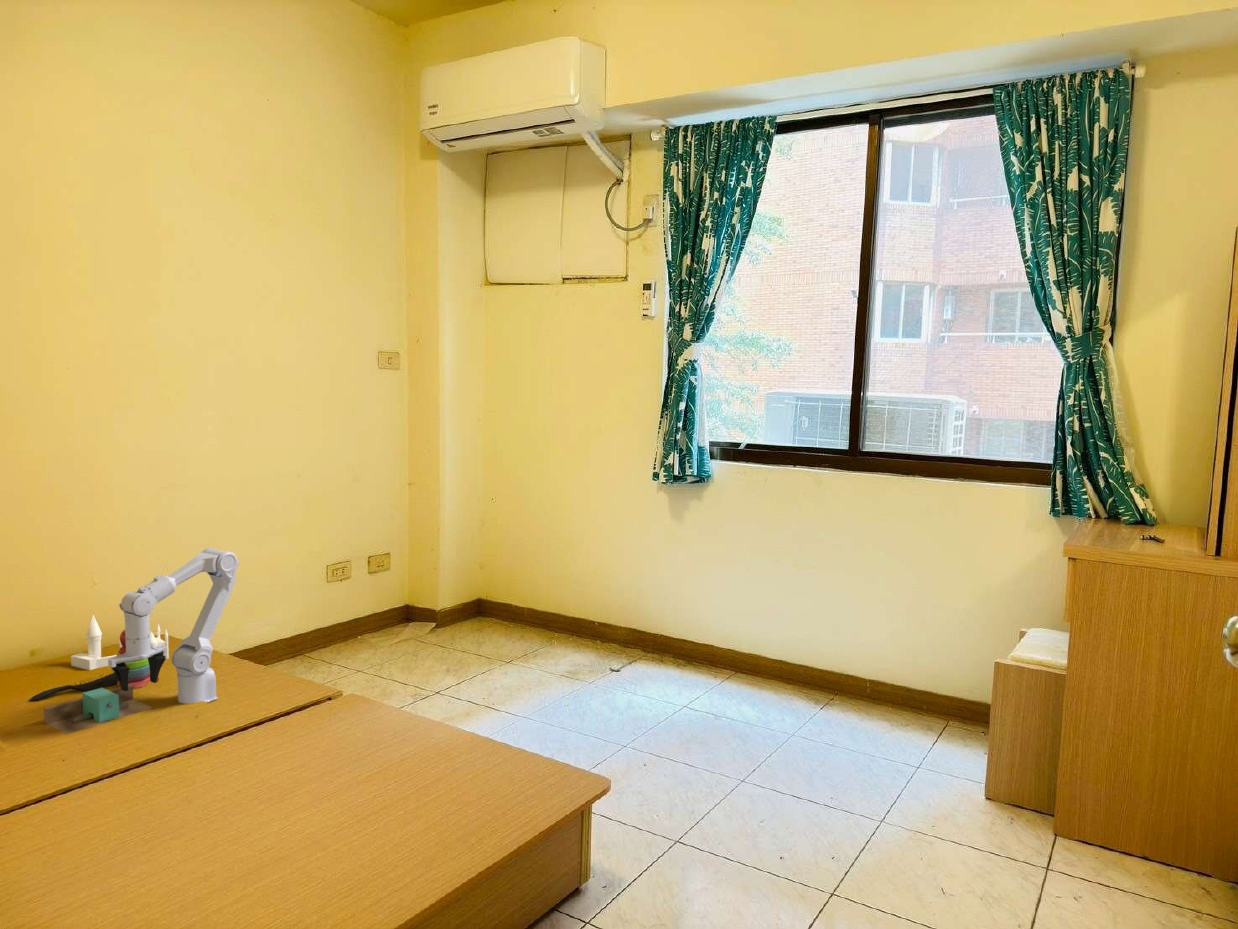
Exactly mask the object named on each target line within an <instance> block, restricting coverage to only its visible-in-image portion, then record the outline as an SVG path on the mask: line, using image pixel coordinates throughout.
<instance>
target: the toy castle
mask: <svg viewBox="0 0 1238 929" xmlns="http://www.w3.org/2000/svg"><path fill="white" fill-rule="evenodd" d="M91 617H92V618H91V620H90V623H89V626H88V629H87V631H86V634H85V636H86V641H87V653H86V652H79V653H76V654H72V655H70V661H71V662H70V665H71V666H72V667H75V668H79V669H84V670H87V671H92V670H95V669H99V668H105V667H109V666H108V659H110V658H114V657H116V656H117V654H114V655H109V656H108V655H107V656H102V636H103V633H102V631H101V628H100V626H99V623H98V621H97V620H96V619H97V618H96V616H95V615H94V614H92V616H91ZM118 643H119V644H118V645H119V649H120V648H121V647H122V644H121V642H120V639H119V641H118ZM159 646H166V647H167V654H163V655H164V656H166V659H165V660H168V659H169V654H170V653H169V634H168V630H167V628H165V632H164V640H163V639H161V628H160V624H159V623H157V628H156V637H155V635H154V633H153V631H152V630H150V648H152V647H159Z"/></svg>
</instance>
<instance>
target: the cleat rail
mask: <svg viewBox="0 0 1238 929" xmlns="http://www.w3.org/2000/svg"><path fill="white" fill-rule="evenodd" d="M127 708H129V704H128V703H124V704H120V705H119V711H120V710H123V709H127ZM93 718H94V714H93V713H89V714H86V715H82V716H79V717H76V718H72V719H71V723H72V724H76V723H80V722H83V721H86V720H90V719H93Z"/></svg>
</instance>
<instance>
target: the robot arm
mask: <svg viewBox="0 0 1238 929" xmlns="http://www.w3.org/2000/svg"><path fill="white" fill-rule="evenodd" d="M239 566H240V562H239V559H238V558H237V555H236V554H235V553H234V552H232V551H228V550H227V551H226V550H220V549H215V548H212V547H207V548H205V549H203V550H202V551H200V552H198V553H196V554H195V556H194V557H193V558H192V559H191V560H189V561H188V562H187V563H185V564H183V565H182V566H181V567H180V568H178V569H177V570H175V571H174V572H172V573H171V574H169V575H160V576H159V575H156V576H155V577H153V580H152V581H150V582H149V583H146V585H144V586H140V587H139V588H138V589H137V590H136V591H130V592H127V593H126V594H125V595H124V596H123V597H122V599H121V601H120V603H119V604H118V606H119V609H120V610H121V611H122V612H123V616H124V630H125V637H126V653H124V654H122V655H119V656H116V657H114V658H110V659H108V666H107V667H110V668H111V670H112V672H113V673H115V674H116V676H117V678H118V680H119V683H120V686H121V690H123V691H128V673H129V669H130V668H129V667H127V666H126V665H125V663H129V662H133V661H137V660H141V659H145V658H148V662H149V667H150V673H149V674H150V683H154V684H156V683H158V681H157V679H158V678H159V674H160V671H161V669H162V666H164V665H163V664H164V663H165V661H166V660H167V659H166V656H164V655H163V654H167V647H166V646H159V647H152V648H150V633H151V628H150V627H151V624H150V620H151V619H150V614H151V613H152V611H153V609H154V607H155V606H156V605H157V604H159V603H160V602H162V601H163V600H164V599H166V598H168V597H170V596H171V595H173V594H174V593H175V591H176V588H177V587H178V586H179V585H181V584H182V583H184V582H186V581H188V580H191V578H193V577H195V576H197V575H199V574H201V573H206V574H207V575H208V576H209V577H210V579H211V582H212V586H211V588H210V590H209V593H208V595H207V597H206V599H205V601H204V604H203V605H202V608H201V610H200V613H199V614H198V617H197V619H196V622H195V623H194V625H193V628H192V631H191V633H190V635H188V636H187V637H186V638H183V639H182V640H181V642H180V644H179V646H178V647H177V648H176V649H175V650H174V651H173V652H172V654H171V663H172V665H173V667H175V669H176V674H177V675H176V676H177V677H176V678H177V702H178V703H180V704H182V705H183V704H186V705H188V704H189V705H191V704H197V703H199V702H205V703H210V702H213V701H217V700H218V696H217V678H216V674H215V671H214V669H213V668H211V667H210V665H211V661H212V654H213V651H214V648H213V646H212V644H211V639H212V637H213V635H214V632H215V630H216V628H217V625H218V624H219V622H220V619H221V618H222V617H221V616H222V614H223V612H224V610H225V608H226V606H227V603H228V602H229V601H228V600H229V598H230V596H231V595H232V594H231V593H232V591H233V589H234V587H235V585H236V579H237V577H236V576H237V571H238V569H239Z"/></svg>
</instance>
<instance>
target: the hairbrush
mask: <svg viewBox="0 0 1238 929" xmlns="http://www.w3.org/2000/svg"><path fill="white" fill-rule="evenodd" d="M110 671H111V672H108V673H107V672H106V674H104V673H102V674H100V677H99V678H95V677H94V678H95V679H94V678H93V677H92V678H89V679H87V680H86V679H84V680H82V681H80V682H79V684H78V683H77V684H76V683H75V684H74V685H73V684H72V685H71V684H66V685H63V686H58V687H53V688H51V689H50V688H49V689H47V690H44V691H41V692H39V693H37V694H35V695H33V696H32V697H30V698H29V699H28V702H30V703H32V702H33V703H36V702H40V701H41V700H45V699H46V698H48V697H51V696H53V695H55V694H56V695H57V694H58V693H61V692H65V691H69V690H73V691H77V692H82V693H84V692H88V691H91V690H95V689H99V688H104V689H106V688H110V687H113V686H117V682H118V678H117V676H116V674H115V673H114V672H113V670H112V669H111V670H110Z"/></svg>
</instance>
